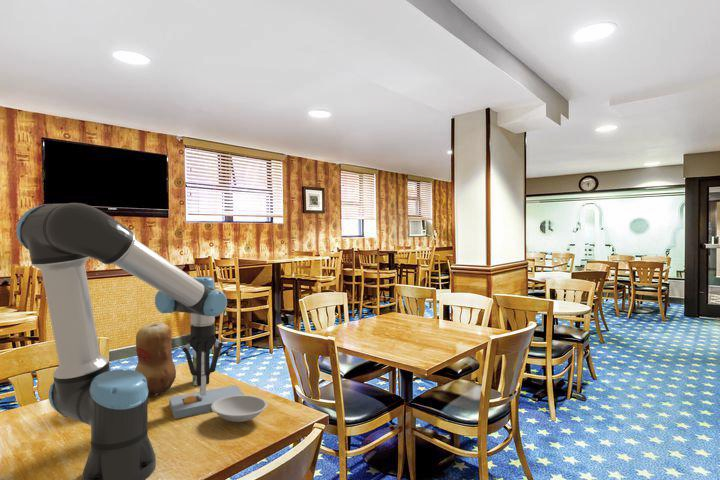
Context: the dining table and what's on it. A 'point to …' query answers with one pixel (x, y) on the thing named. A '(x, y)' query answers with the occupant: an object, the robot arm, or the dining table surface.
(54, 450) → the dining table surface
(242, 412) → the dish
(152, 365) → the butternut squash
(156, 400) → the dining table surface
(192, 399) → the ball
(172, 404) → the hole plate
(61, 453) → the dining table surface
